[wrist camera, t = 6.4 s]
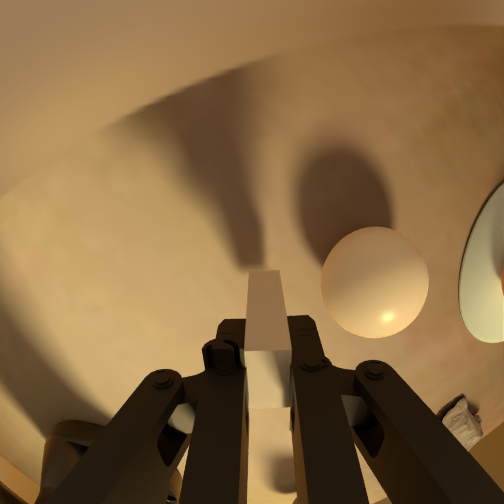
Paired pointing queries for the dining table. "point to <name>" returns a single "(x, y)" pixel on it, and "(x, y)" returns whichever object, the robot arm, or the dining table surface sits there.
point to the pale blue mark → (484, 273)
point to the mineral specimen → (463, 424)
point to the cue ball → (374, 282)
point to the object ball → (502, 280)
